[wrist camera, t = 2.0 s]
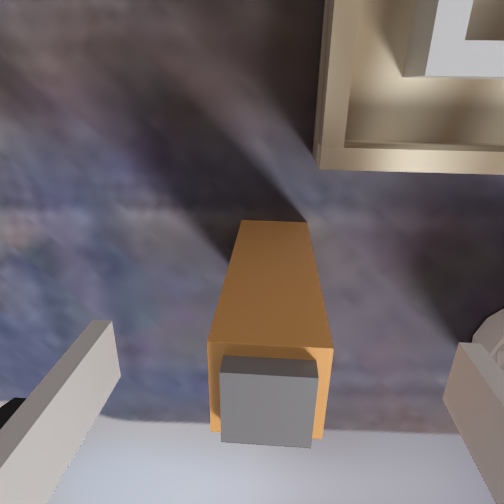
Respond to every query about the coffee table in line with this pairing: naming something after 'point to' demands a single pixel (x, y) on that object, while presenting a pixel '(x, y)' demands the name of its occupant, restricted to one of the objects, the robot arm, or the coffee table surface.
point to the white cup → (492, 337)
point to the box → (402, 96)
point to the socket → (449, 44)
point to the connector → (270, 340)
